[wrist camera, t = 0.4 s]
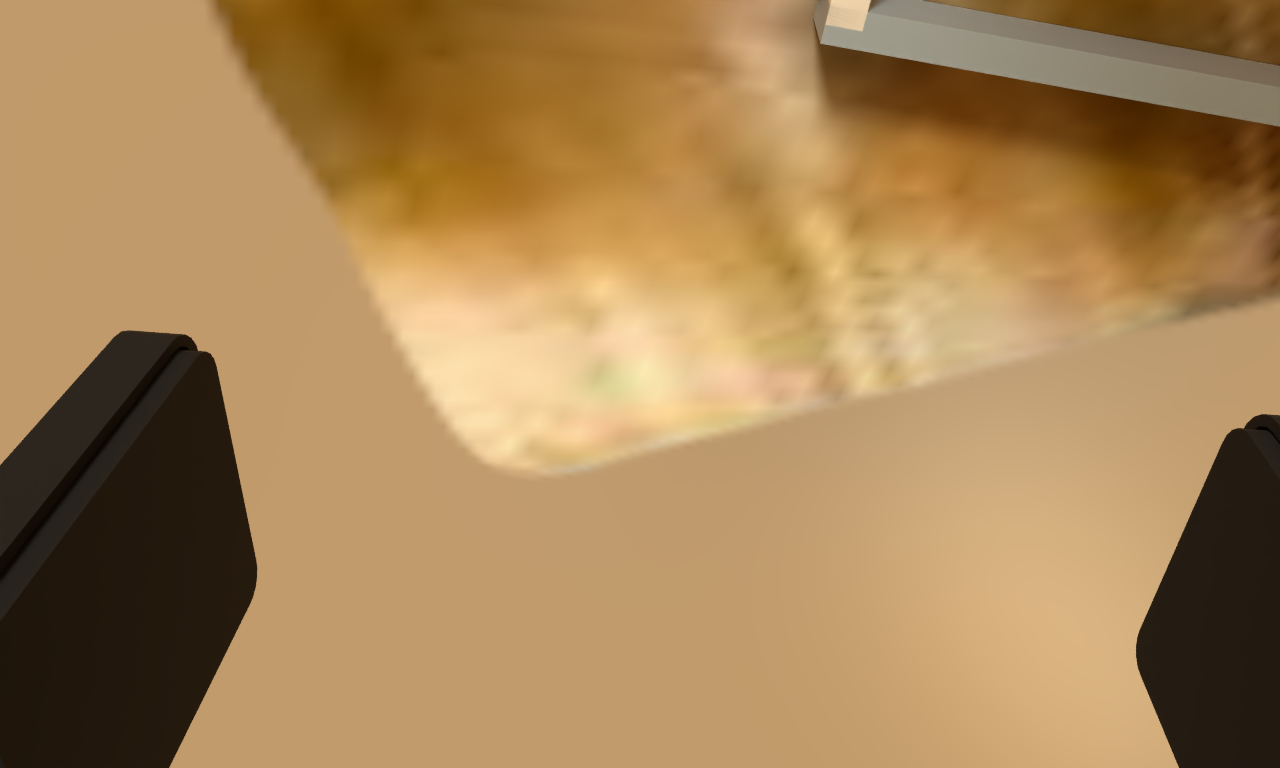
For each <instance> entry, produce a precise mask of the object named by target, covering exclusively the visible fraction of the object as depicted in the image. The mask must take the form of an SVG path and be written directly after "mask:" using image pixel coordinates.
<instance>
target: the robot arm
mask: <svg viewBox="0 0 1280 768" xmlns="http://www.w3.org/2000/svg"><path fill="white" fill-rule="evenodd" d="M256 581H257V563H256V557H255V552H254V547H253V542H252V537H251V533H250V528H249V523H248V518H247V513H246V508H245V503H244V499H243V493H242V489H241V484H240V479H239V474H238V469H237V464H236V459H235V455H234V449H233V445H232V440H231V435H230V430H229V425H228V420H227V415H226V411H225V406H224V401H223V396H222V391H221V386H220V381H219V376H218V371H217V367H216V364H215V361H214V358H213V357H212V355H211V354H210V353H208V352H203V351H198V349H197V346H196V344H195V343H194V341H193V340H192V338H190V337H189V336H187V335H183V334H170V333H155V332H142V331H122V332H120V333H119V334H118V335H116V336H115V337H114V338H113V339H112V340H111V341H110V343H109V344H108V345H107V346H106V347H105V348H104V349H103V350H102V351H101V353H100V354H99V355H98V356H97V357H96V358H95V359H94V361H93V362H92V363H91V364H90V365H89V366H88V367H87V368H86V370H85V371H84V372H83V373H82V374H81V375H80V376H79V377H78V378H77V380H76V381H75V382H74V383H73V384H72V385H71V386H70V387H69V389H68V390H67V391H66V392H65V393H64V394H63V396H61V398H60V399H59V400H58V401H57V402H56V403H55V404H54V405H53V407H52V408H51V409H50V410H49V411H48V412H47V413H46V415H45V416H44V417H43V418H42V419H41V420H40V421H39V422H38V424H37V425H36V426H35V427H34V428H33V429H32V430H31V431H30V432H29V434H28V435H27V436H26V437H25V438H24V439H23V440H22V442H21V443H20V444H19V445H18V446H17V447H16V448H15V449H14V451H13V452H12V453H11V454H10V455H9V456H8V457H7V458H6V459H5V461H4V462H3V463H2V464H1V465H0V768H169V767H170V765H171V763H172V761H173V758H174V757H175V755H176V753H177V751H178V749H179V747H180V745H181V742H182V741H183V739H184V736H185V734H186V732H187V730H188V728H189V726H190V724H191V722H192V720H193V718H194V716H195V714H196V712H197V710H198V708H199V706H200V704H201V702H202V700H203V698H204V696H205V694H206V692H207V690H208V688H209V686H210V684H211V682H212V680H213V678H214V676H215V674H216V672H217V670H218V668H219V666H220V664H221V662H222V660H223V657H224V656H225V653H226V652H227V650H228V647H229V646H230V643H231V641H232V639H233V637H234V635H235V633H236V631H237V629H238V627H239V625H240V623H241V621H242V619H243V617H244V615H245V613H246V611H247V609H248V607H249V605H250V603H251V600H252V598H253V595H254V591H255V587H256ZM1136 658H1137V665H1138V669H1139V672H1140V675H1141V677H1142V680H1143V682H1144V685H1145V687H1146V689H1147V692H1148V694H1149V696H1150V699H1151V701H1152V704H1153V706H1154V708H1155V711H1156V713H1157V715H1158V718H1159V721H1160V723H1161V725H1162V727H1163V730H1164V733H1165V735H1166V737H1167V740H1168V742H1169V745H1170V747H1171V749H1172V752H1173V754H1174V757H1175V759H1176V761H1177V764H1178V766H1179V768H1280V416H1279V415H1267V414H1262V415H1259V416H1255V417H1253V418H1252V419H1251V420H1250V421H1249V422H1248V423H1247V424H1246V426H1245V428H1244V429H1242V428H1237V429H1234V430H1232V431H1231V432H1230V433H1229V434H1227V436H1226V438H1225V439H1224V441H1223V443H1222V445H1221V447H1220V450H1219V452H1218V454H1217V457H1216V459H1215V461H1214V463H1213V465H1212V468H1211V470H1210V472H1209V474H1208V477H1207V479H1206V481H1205V483H1204V486H1203V488H1202V490H1201V493H1200V495H1199V497H1198V499H1197V502H1196V504H1195V506H1194V508H1193V511H1192V513H1191V515H1190V517H1189V520H1188V522H1187V524H1186V527H1185V529H1184V531H1183V533H1182V536H1181V538H1180V540H1179V542H1178V545H1177V547H1176V549H1175V552H1174V554H1173V556H1172V558H1171V561H1170V563H1169V565H1168V567H1167V570H1166V572H1165V574H1164V576H1163V579H1162V581H1161V583H1160V586H1159V588H1158V590H1157V593H1156V595H1155V597H1154V599H1153V601H1152V604H1151V606H1150V608H1149V610H1148V613H1147V615H1146V617H1145V619H1144V622H1143V624H1142V626H1141V629H1140V631H1139V634H1138V637H1137V644H1136Z"/></svg>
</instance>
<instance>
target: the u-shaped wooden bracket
mask: <svg viewBox="0 0 1280 768" xmlns="http://www.w3.org/2000/svg"><path fill="white" fill-rule="evenodd" d="M813 19H814V22H815V26H816V29H817V33H818V37H819V40H820V44H825V45H831V46H837V47H842V48H848V49H853V50H859V51H864V52H870V53H875V54H881V55H886V56H892V57H897V58H903V59H909V60H914V61H920V62H925V63H931V64H936V65H942V66H947V67H953V68H958V69H964V70H969V71H975V72H981V73H986V74H992V75H997V76H1003V77H1008V78H1014V79H1019V80H1025V81H1030V82H1036V83H1041V84H1047V85H1052V86H1058V87H1064V88H1069V89H1075V90H1080V91H1086V92H1091V93H1097V94H1102V95H1108V96H1113V97H1119V98H1124V99H1130V100H1136V101H1141V102H1147V103H1152V104H1158V105H1163V106H1169V107H1174V108H1180V109H1185V110H1191V111H1196V112H1202V113H1207V114H1213V115H1219V116H1224V117H1230V118H1235V119H1241V120H1246V121H1252V122H1257V123H1263V124H1268V125H1274V126H1279V127H1280V66H1278V65H1273V64H1267V63H1262V62H1256V61H1251V60H1246V59H1240V58H1235V57H1229V56H1224V55H1218V54H1213V53H1207V52H1202V51H1196V50H1191V49H1185V48H1180V47H1174V46H1169V45H1164V44H1158V43H1153V42H1147V41H1142V40H1136V39H1131V38H1125V37H1120V36H1114V35H1109V34H1103V33H1098V32H1092V31H1087V30H1082V29H1076V28H1071V27H1065V26H1060V25H1054V24H1049V23H1043V22H1038V21H1032V20H1027V19H1021V18H1016V17H1010V16H1005V15H1000V14H994V13H989V12H983V11H978V10H972V9H967V8H961V7H956V6H950V5H945V4H939V3H934V2H928V1H923V0H818V1H817V5H816V9H815V13H814V17H813Z"/></svg>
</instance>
